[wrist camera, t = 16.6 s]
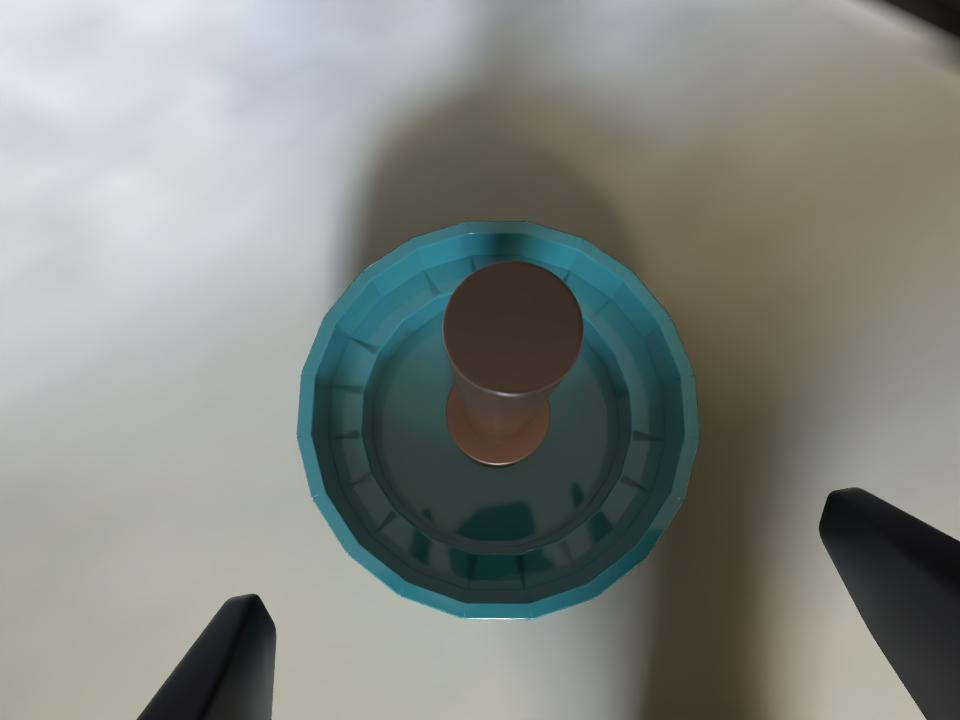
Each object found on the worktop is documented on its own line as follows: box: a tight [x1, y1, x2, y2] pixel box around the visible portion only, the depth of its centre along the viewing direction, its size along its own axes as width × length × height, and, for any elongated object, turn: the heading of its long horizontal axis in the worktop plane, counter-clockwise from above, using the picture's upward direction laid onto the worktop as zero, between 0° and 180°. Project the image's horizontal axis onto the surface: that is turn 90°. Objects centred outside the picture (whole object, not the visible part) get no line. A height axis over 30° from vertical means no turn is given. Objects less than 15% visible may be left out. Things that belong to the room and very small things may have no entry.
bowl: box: [297, 221, 700, 620], centre depth 21 cm, size 13×13×4 cm
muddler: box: [442, 261, 584, 467], centre depth 16 cm, size 4×4×14 cm
